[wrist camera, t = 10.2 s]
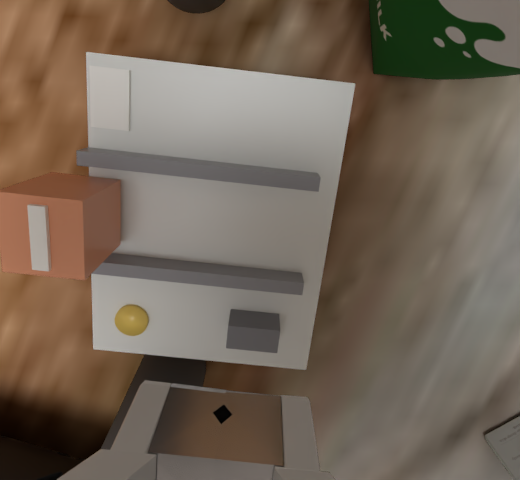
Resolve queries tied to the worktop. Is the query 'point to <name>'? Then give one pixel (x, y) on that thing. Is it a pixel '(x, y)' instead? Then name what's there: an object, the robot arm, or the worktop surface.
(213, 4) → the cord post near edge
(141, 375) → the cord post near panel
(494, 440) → the skincare box
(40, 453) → the muzzle brake
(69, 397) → the worktop surface
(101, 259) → the block
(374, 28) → the soya milk
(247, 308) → the panel
